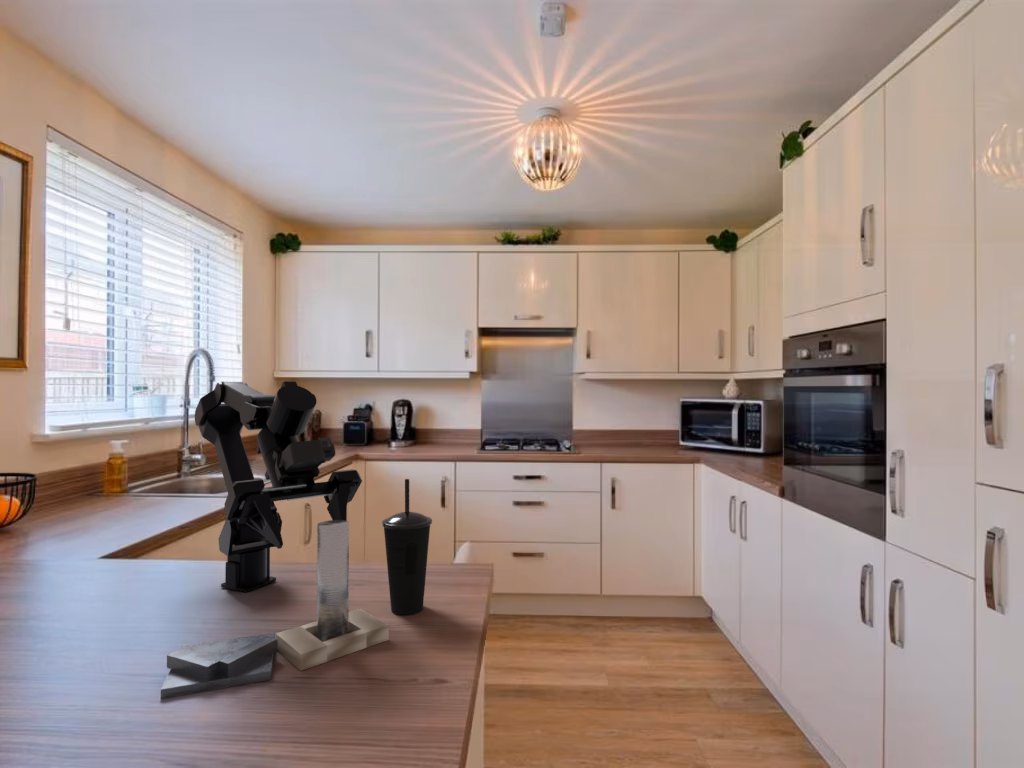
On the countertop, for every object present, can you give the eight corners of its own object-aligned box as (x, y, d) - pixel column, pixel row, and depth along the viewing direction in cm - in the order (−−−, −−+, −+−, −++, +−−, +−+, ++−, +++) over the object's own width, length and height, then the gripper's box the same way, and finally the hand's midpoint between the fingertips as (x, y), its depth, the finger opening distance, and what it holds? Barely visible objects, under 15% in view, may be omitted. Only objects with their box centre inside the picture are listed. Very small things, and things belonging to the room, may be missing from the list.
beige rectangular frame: (300, 671, 66) (300, 654, 66) (275, 648, 71) (275, 633, 71) (388, 639, 74) (388, 624, 74) (359, 622, 80) (359, 608, 80)
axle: (332, 635, 75) (332, 518, 76) (355, 640, 74) (355, 521, 74) (310, 647, 72) (310, 525, 72) (334, 653, 70) (334, 528, 70)
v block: (177, 654, 70) (177, 635, 70) (279, 639, 74) (279, 621, 74) (155, 699, 60) (155, 676, 60) (275, 678, 64) (275, 657, 64)
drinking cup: (441, 604, 86) (441, 477, 87) (413, 622, 79) (413, 484, 80) (401, 596, 90) (401, 474, 90) (371, 613, 83) (371, 481, 83)
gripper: (231, 423, 75) (259, 516, 67) (356, 418, 88) (393, 496, 80) (213, 475, 80) (238, 567, 72) (333, 464, 93) (366, 540, 85)
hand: (314, 540), depth 77 cm, fingers open, 9 cm apart
